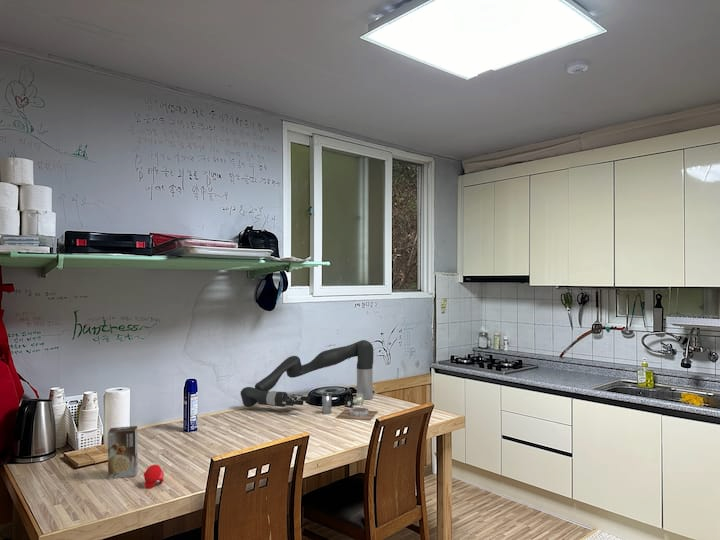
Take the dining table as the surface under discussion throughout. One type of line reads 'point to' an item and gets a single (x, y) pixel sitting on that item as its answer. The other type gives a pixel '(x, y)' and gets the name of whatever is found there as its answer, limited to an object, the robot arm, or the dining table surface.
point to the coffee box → (122, 452)
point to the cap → (153, 476)
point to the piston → (326, 403)
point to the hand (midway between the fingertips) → (306, 400)
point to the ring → (359, 412)
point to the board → (346, 415)
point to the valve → (357, 400)
